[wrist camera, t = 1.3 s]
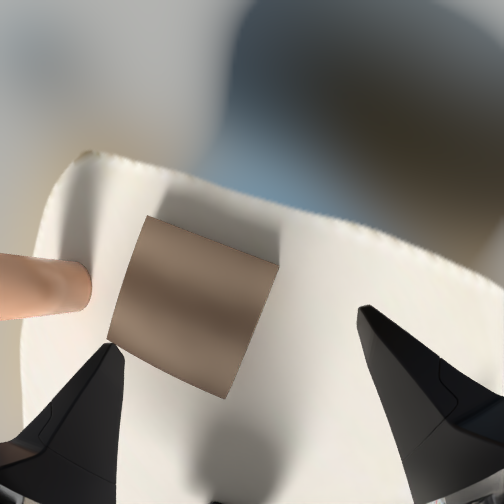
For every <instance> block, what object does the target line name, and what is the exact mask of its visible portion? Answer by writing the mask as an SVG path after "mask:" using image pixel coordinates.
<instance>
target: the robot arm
mask: <svg viewBox="0 0 504 504" xmlns="http://www.w3.org/2000/svg"><path fill="white" fill-rule="evenodd" d="M357 330H358V333H359V337H360V341H361V344H362V348H363V351H364V355H365V359H366V362H367V366H368V369H369V371H370V374H371V376H372V379H373V382H374V384H375V387H376V389H377V392H378V395H379V397H380V400H381V403H382V405H383V408H384V411H385V413H386V416H387V419H388V422H389V425H390V427H391V430H392V433H393V436H394V439H395V442H396V445H397V448H398V451H399V454H400V457H401V460H402V464H403V467H404V470H405V474H406V477H407V480H408V484H409V487H410V490H411V494H412V498H413V501H414V504H427V503H430V502H433V501H436V500H438V499H441V498H444V500H445V503H444V504H504V397H503V396H500V395H498V394H495V393H494V392H492V391H490V390H489V389H487V388H485V387H484V386H482V385H480V384H479V383H477V382H475V381H474V380H472V379H471V378H469V377H467V376H466V375H464V374H463V373H461V372H460V371H458V370H457V369H456V368H454V367H453V366H451V365H450V364H449V363H447V362H446V361H445V360H444V359H442V358H440V357H439V356H438V355H437V354H436V353H434V352H433V351H432V350H430V349H429V348H428V347H426V346H425V345H424V344H422V343H421V342H420V341H418V340H417V339H416V338H414V337H413V336H412V335H411V334H409V333H408V332H407V331H405V330H404V329H402V328H401V327H400V326H398V325H397V324H396V323H394V322H393V321H392V320H390V319H389V318H388V317H386V316H385V315H384V314H382V313H381V312H380V311H378V310H377V309H375V308H374V307H373V306H371V305H365V306H360V307H359V308H358V314H357ZM124 366H125V359H124V356H123V354H122V353H121V352H120V350H119V349H118V347H117V346H116V345H115V344H114V343H104V344H103V345H102V346H101V347H100V348H99V349H98V350H97V351H96V352H95V353H94V354H93V356H92V357H91V358H90V359H89V360H88V361H87V362H86V363H85V364H84V365H83V366H82V367H81V368H80V369H79V371H78V372H77V373H76V374H75V375H74V376H73V377H72V378H71V379H70V380H69V381H68V383H67V384H66V385H65V386H64V387H63V388H62V389H61V390H60V391H59V393H58V394H57V395H56V396H55V397H54V398H53V399H52V402H50V403H49V404H48V405H47V406H46V407H45V408H44V409H43V411H42V412H41V413H40V414H39V415H38V416H37V417H36V418H35V419H34V420H33V421H32V422H31V423H30V424H29V425H28V426H27V427H26V428H25V429H24V430H23V431H22V432H21V433H20V434H19V435H18V436H17V437H16V438H14V439H13V440H11V441H8V442H4V443H0V504H116V472H117V454H118V440H119V429H120V419H121V410H122V402H123V390H124ZM211 504H220V503H217V502H212V503H211Z"/></svg>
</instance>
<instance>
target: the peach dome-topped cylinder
mask: <svg viewBox="0 0 504 504" xmlns="http://www.w3.org/2000/svg"><path fill="white" fill-rule="evenodd" d="M91 292H92V285H91V279H90V276H89V273H88V271H87V270H86V268H85V267H84V266H83V265H82V264H80V263H78V262H74V261H64V260H55V259H46V258H37V257H28V256H20V255H11V254H3V253H0V321H2V320H12V319H20V318H30V317H39V316H47V315H55V314H63V313H71V312H78V311H81V310H83V309H84V308H85V307H86V306H87V304H88V303H89V300H90V297H91Z"/></svg>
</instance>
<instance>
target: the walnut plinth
mask: <svg viewBox="0 0 504 504" xmlns="http://www.w3.org/2000/svg"><path fill="white" fill-rule="evenodd" d="M278 269H279V266H278V265H276V264H273V263H270V262H268V261H265V260H263V259H260V258H257V257H255V256H252V255H249V254H247V253H244V252H242V251H239V250H236V249H234V248H231V247H228V246H226V245H223V244H221V243H218V242H215V241H213V240H210V239H208V238H205V237H202V236H200V235H197V234H194V233H192V232H189V231H187V230H184V229H181V228H179V227H176V226H174V225H171V224H168V223H166V222H163V221H161V220H158V219H155V218H153V217H150V216H148V215H147V217H146V219H145V222H144V224H143V227H142V230H141V232H140V235H139V237H138V240H137V243H136V246H135V248H134V251H133V254H132V257H131V260H130V262H129V265H128V268H127V271H126V274H125V277H124V280H123V284H122V287H121V290H120V293H119V296H118V300H117V303H116V306H115V310H114V313H113V317H112V320H111V324H110V328H109V332H108V335H107V340H109V341H111V342H112V343H114V344H115V345H117V346H119V347H120V348H122V349H124V350H126V351H127V352H129V353H131V354H132V355H134V356H136V357H138V358H140V359H141V360H143V361H145V362H147V363H149V364H151V365H152V366H154V367H156V368H158V369H160V370H162V371H164V372H166V373H168V374H170V375H172V376H174V377H176V378H178V379H180V380H182V381H184V382H186V383H188V384H191V385H193V386H195V387H197V388H199V389H202V390H204V391H206V392H208V393H211V394H213V395H215V396H218V397H220V398H223V399H225V398H226V396H227V394H228V392H229V390H230V388H231V386H232V383H233V381H234V379H235V376H236V374H237V372H238V369H239V367H240V364H241V362H242V360H243V357H244V355H245V352H246V350H247V347H248V345H249V343H250V340H251V338H252V335H253V333H254V330H255V328H256V325H257V323H258V320H259V318H260V315H261V313H262V310H263V308H264V305H265V303H266V300H267V298H268V295H269V293H270V290H271V287H272V285H273V282H274V280H275V277H276V274H277V272H278Z"/></svg>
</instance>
